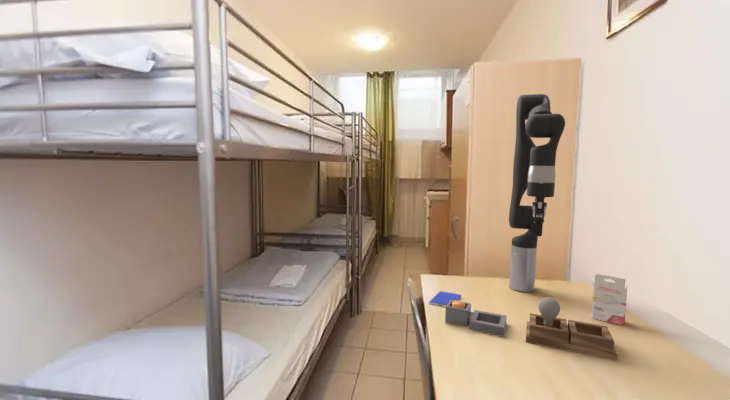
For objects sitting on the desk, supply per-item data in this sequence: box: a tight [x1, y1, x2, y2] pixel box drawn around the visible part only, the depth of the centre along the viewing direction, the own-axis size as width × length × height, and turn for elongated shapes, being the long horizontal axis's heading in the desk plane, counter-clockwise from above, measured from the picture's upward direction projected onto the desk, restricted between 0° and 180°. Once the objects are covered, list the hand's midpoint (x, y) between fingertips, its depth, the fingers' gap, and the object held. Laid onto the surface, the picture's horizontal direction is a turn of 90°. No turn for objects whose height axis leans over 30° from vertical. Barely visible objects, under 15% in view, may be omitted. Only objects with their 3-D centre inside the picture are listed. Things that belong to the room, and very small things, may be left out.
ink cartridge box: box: [591, 273, 628, 327], centre depth 115 cm, size 9×5×15 cm, turn 47°
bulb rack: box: [525, 313, 618, 361], centre depth 100 cm, size 11×21×4 cm, turn 65°
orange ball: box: [452, 300, 465, 309], centre depth 113 cm, size 4×4×4 cm
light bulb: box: [538, 297, 561, 327], centre depth 102 cm, size 6×5×10 cm
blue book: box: [428, 290, 462, 308], centre depth 130 cm, size 2×8×12 cm
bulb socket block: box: [444, 300, 507, 337], centre depth 111 cm, size 10×17×5 cm, turn 65°
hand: (537, 233), depth 112 cm, fingers open, 8 cm apart
